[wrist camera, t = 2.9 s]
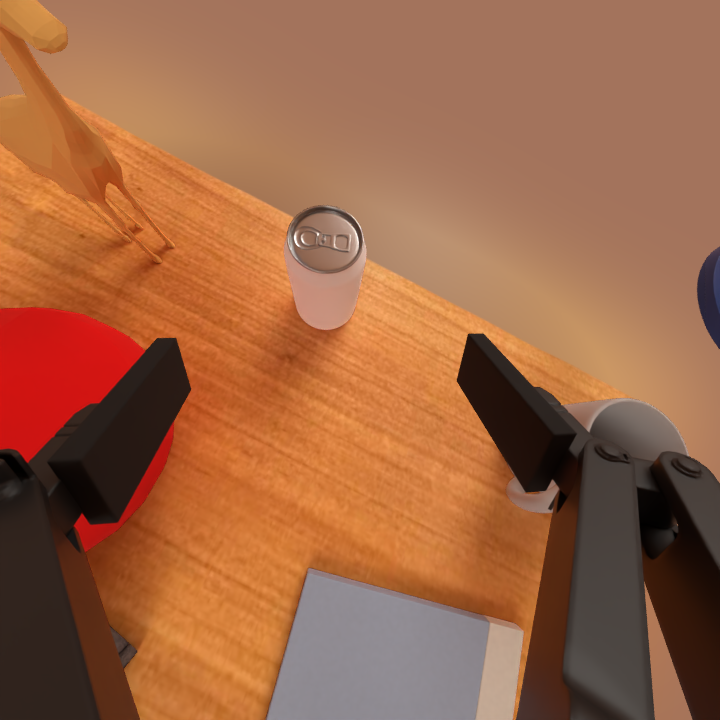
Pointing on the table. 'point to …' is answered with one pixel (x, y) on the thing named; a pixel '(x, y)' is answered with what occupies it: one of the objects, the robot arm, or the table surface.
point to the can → (325, 265)
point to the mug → (611, 439)
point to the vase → (63, 387)
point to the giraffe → (56, 120)
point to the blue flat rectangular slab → (392, 658)
